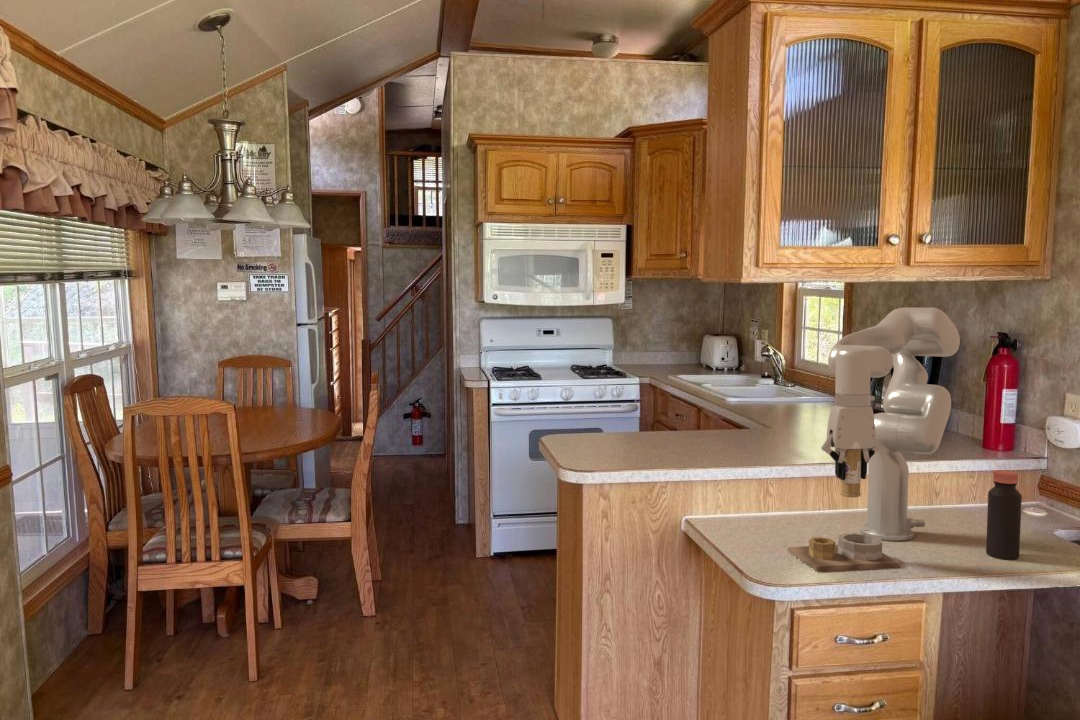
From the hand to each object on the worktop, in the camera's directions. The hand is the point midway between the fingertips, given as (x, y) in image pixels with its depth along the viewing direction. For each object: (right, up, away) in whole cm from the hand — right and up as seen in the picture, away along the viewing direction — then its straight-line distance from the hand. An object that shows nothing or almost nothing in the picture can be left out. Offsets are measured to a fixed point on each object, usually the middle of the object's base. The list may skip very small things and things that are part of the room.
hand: (850, 477), depth 180 cm
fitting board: (-2, -19, -1) cm, 19 cm away
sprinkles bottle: (0, -5, 0) cm, 5 cm away
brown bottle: (+37, -19, +2) cm, 41 cm away
